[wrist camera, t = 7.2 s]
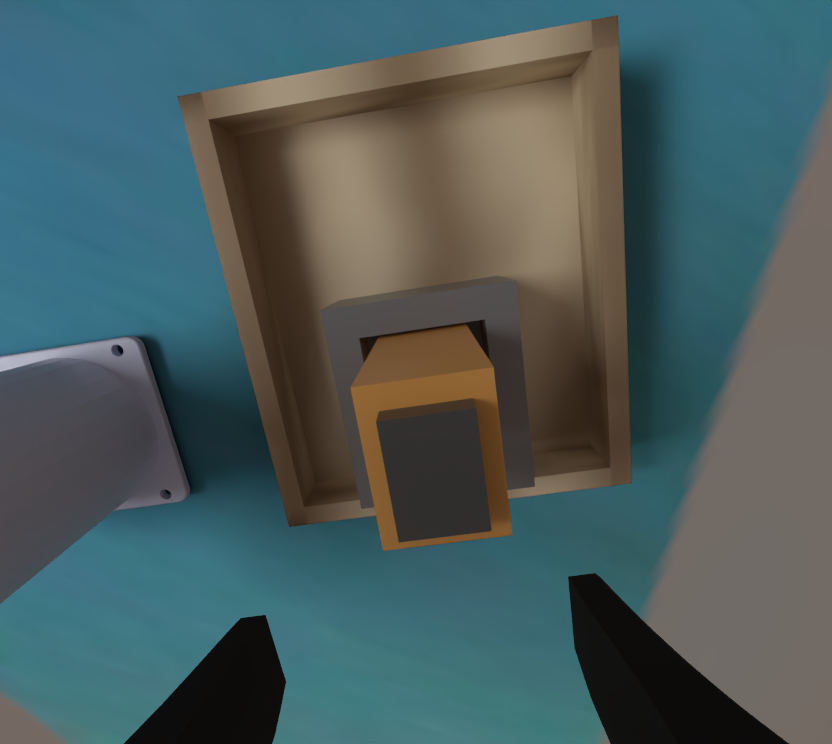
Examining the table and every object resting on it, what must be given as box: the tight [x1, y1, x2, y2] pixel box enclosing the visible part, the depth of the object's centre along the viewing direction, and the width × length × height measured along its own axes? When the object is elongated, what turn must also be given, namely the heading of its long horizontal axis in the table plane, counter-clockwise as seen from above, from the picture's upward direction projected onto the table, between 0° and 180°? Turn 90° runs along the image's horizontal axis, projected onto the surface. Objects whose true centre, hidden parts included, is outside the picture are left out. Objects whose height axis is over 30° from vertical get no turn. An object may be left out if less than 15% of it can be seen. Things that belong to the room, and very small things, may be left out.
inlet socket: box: [320, 276, 535, 509], centre depth 17 cm, size 6×7×4 cm
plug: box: [351, 323, 512, 551], centre depth 13 cm, size 3×4×8 cm
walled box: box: [178, 15, 632, 527], centre depth 17 cm, size 14×16×3 cm
